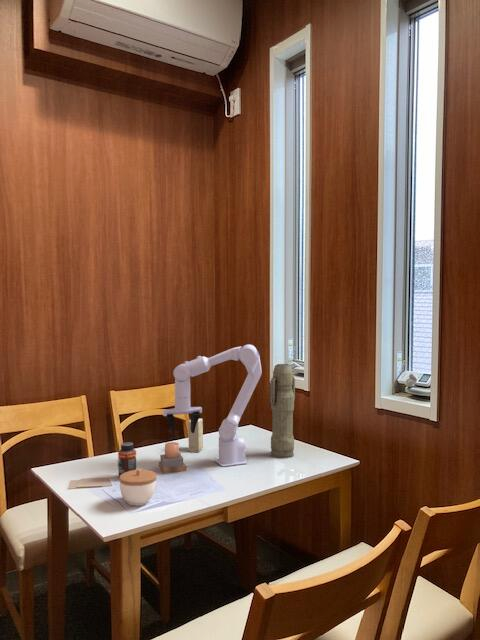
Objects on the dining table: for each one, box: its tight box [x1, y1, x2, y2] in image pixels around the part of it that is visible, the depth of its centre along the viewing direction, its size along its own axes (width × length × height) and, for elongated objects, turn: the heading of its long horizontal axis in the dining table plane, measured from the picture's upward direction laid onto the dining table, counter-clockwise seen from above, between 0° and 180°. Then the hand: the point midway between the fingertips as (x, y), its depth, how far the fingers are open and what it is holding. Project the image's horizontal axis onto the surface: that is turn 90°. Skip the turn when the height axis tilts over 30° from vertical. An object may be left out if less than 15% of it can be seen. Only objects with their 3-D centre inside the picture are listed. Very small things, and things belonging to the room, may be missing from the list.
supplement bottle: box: [117, 442, 137, 478], centre depth 166 cm, size 6×6×11 cm
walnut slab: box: [158, 461, 188, 475], centre depth 175 cm, size 8×8×2 cm
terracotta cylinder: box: [164, 441, 180, 459], centre depth 175 cm, size 5×5×4 cm
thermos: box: [269, 363, 296, 459], centre depth 192 cm, size 9×12×35 cm
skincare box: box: [187, 418, 204, 453], centre depth 198 cm, size 6×4×12 cm
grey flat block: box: [159, 452, 184, 468], centre depth 175 cm, size 7×7×2 cm
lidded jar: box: [118, 468, 157, 506], centre depth 146 cm, size 11×11×9 cm
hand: (182, 433), depth 183 cm, fingers open, 7 cm apart
